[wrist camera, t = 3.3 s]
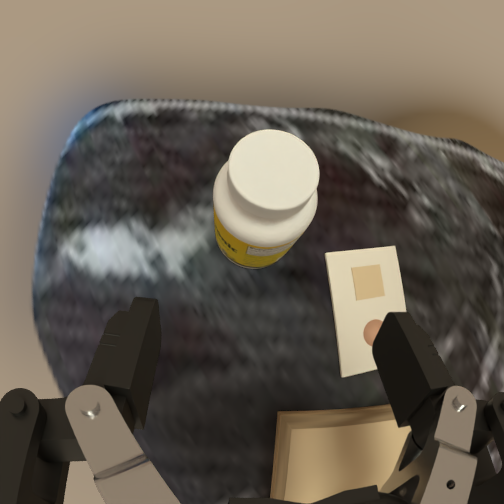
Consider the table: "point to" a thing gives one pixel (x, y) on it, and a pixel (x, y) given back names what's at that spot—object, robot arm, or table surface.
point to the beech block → (334, 451)
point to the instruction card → (362, 301)
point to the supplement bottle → (264, 197)
